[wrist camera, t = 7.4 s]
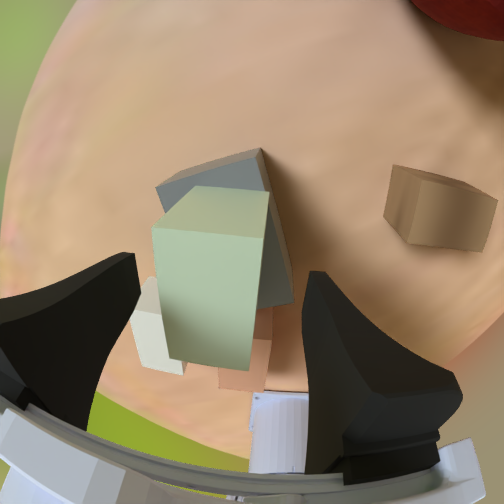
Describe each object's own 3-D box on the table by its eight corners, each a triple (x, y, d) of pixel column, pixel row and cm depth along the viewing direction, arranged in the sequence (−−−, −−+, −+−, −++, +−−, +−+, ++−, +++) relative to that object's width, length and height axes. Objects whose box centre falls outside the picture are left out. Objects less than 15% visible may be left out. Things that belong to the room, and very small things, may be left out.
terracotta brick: (266, 355, 23) (263, 393, 19) (226, 351, 23) (219, 388, 19) (273, 301, 20) (272, 340, 16) (226, 296, 20) (216, 334, 17)
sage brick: (257, 299, 15) (248, 371, 11) (197, 291, 15) (169, 358, 11) (269, 191, 12) (263, 238, 8) (195, 185, 13) (151, 227, 8)
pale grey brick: (195, 339, 23) (183, 375, 19) (158, 332, 23) (142, 366, 19) (192, 281, 20) (176, 317, 16) (149, 275, 20) (127, 307, 16)
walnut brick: (463, 181, 14) (498, 200, 11) (452, 226, 16) (482, 252, 12) (392, 164, 15) (422, 179, 11) (382, 215, 16) (406, 243, 13)
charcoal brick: (291, 265, 19) (294, 302, 15) (221, 279, 20) (209, 316, 16) (260, 147, 15) (255, 156, 12) (181, 170, 16) (155, 187, 13)
